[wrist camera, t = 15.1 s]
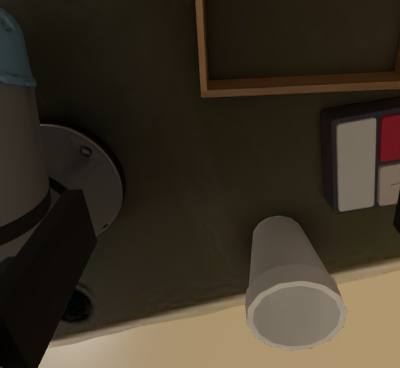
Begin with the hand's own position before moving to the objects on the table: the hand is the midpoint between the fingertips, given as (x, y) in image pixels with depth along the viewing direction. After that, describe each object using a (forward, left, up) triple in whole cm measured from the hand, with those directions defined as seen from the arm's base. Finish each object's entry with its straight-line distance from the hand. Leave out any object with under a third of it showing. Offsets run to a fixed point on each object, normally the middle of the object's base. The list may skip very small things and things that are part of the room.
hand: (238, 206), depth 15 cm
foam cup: (+6, -20, -25) cm, 33 cm away
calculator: (+18, -8, -25) cm, 32 cm away
